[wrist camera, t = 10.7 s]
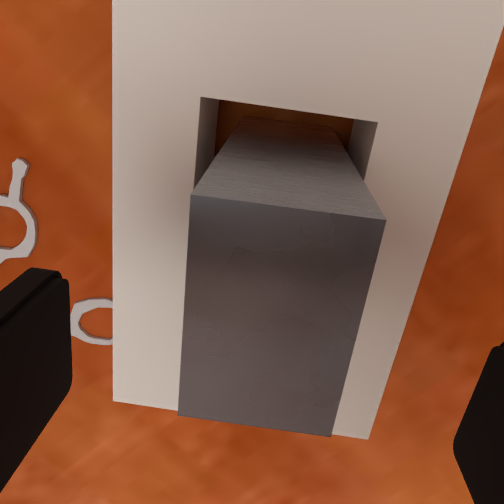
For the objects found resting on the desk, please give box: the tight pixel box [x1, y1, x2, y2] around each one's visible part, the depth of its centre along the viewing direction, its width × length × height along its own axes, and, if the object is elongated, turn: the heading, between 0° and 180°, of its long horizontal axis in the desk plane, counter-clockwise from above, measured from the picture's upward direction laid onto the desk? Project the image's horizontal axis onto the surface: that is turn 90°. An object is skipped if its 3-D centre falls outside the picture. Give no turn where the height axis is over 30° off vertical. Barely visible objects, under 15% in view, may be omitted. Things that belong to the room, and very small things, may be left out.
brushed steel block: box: [178, 116, 387, 437], centre depth 16 cm, size 4×6×12 cm, turn 174°
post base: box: [112, 0, 504, 440], centre depth 19 cm, size 12×20×5 cm, turn 173°
